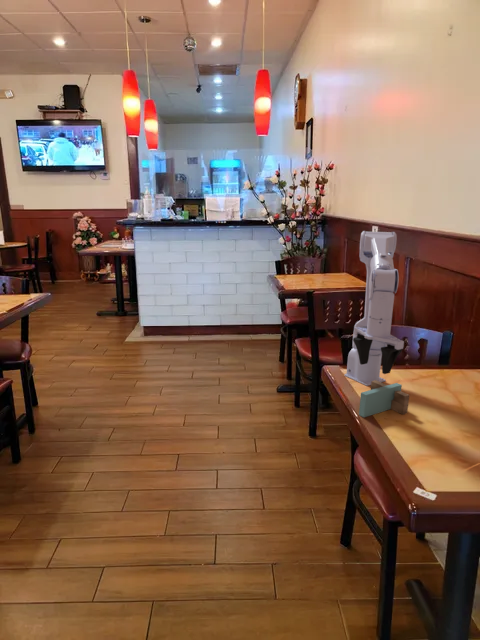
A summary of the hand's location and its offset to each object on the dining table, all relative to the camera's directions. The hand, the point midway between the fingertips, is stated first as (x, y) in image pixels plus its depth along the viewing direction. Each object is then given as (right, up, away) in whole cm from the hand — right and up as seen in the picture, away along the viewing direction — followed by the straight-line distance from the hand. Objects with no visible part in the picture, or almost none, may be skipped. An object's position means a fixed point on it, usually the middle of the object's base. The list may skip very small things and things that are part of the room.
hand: (374, 368), depth 118 cm
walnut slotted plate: (+4, -10, +2) cm, 11 cm away
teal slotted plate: (+1, -11, -1) cm, 11 cm away
